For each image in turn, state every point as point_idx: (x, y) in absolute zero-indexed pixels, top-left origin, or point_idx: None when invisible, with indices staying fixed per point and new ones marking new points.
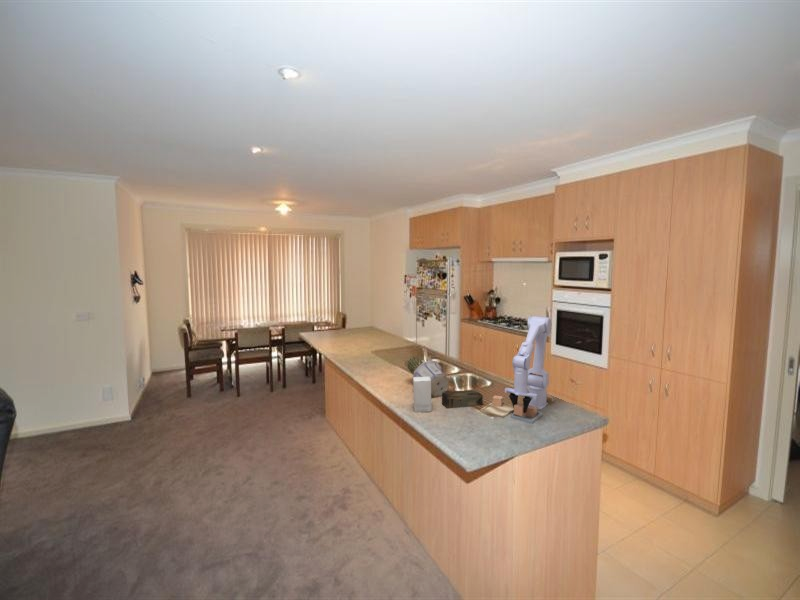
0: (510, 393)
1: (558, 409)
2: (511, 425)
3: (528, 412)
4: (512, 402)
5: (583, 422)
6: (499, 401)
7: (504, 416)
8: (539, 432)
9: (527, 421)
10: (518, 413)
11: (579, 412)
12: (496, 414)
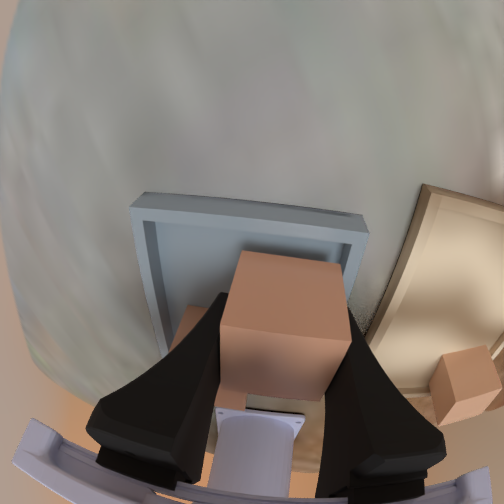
0: (420, 490)
1: None
2: (300, 54)
3: None
4: (380, 378)
5: (37, 337)
6: (460, 384)
7: (420, 214)
8: (51, 92)
9: (178, 202)
10: (286, 270)
11: None
12: (487, 210)
